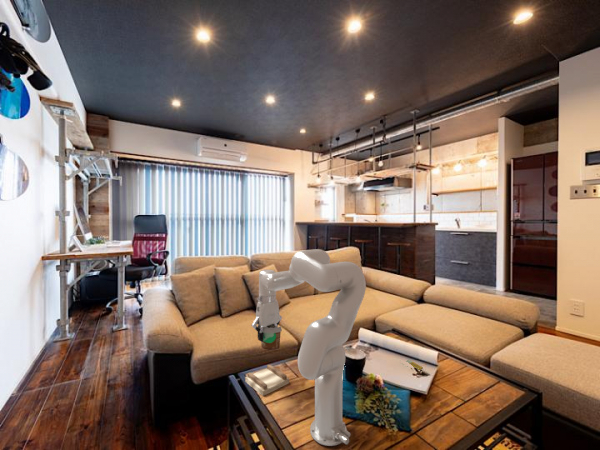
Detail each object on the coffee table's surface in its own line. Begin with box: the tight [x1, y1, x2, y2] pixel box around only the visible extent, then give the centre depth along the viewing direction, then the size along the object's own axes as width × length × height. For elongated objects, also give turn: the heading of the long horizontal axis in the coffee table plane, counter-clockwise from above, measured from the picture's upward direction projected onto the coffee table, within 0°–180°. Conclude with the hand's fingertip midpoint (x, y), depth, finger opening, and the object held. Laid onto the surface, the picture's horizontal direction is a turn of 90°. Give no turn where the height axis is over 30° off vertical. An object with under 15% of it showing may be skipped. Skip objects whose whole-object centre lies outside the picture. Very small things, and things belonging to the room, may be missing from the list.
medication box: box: [406, 358, 424, 370], centre depth 134 cm, size 12×3×4 cm, turn 25°
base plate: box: [244, 364, 290, 397], centre depth 124 cm, size 14×14×4 cm
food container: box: [260, 324, 282, 351], centre depth 123 cm, size 12×6×10 cm, turn 47°
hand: (267, 338), depth 123 cm, fingers closed on food container, 6 cm apart
